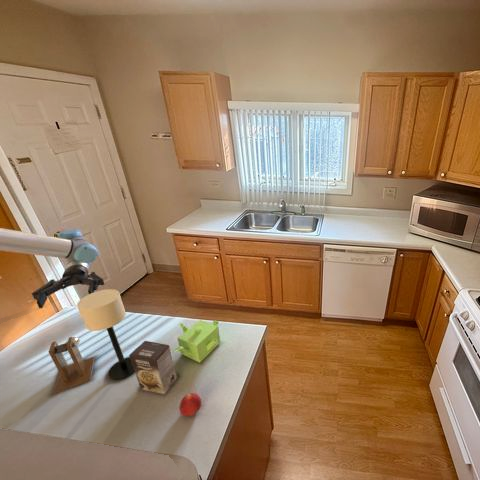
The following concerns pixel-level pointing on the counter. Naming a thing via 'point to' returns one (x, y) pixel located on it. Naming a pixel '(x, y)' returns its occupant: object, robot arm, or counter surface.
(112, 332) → the desk lamp
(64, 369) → the wooden globe stand
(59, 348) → the black pendulum
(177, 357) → the counter surface
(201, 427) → the counter surface
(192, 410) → the red apple
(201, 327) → the cube with spouts
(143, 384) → the coffee box
